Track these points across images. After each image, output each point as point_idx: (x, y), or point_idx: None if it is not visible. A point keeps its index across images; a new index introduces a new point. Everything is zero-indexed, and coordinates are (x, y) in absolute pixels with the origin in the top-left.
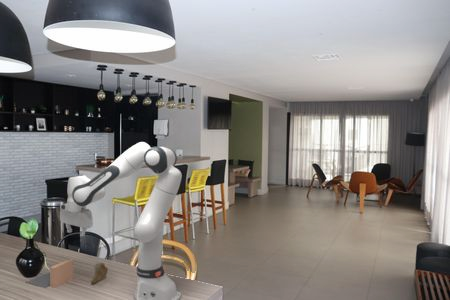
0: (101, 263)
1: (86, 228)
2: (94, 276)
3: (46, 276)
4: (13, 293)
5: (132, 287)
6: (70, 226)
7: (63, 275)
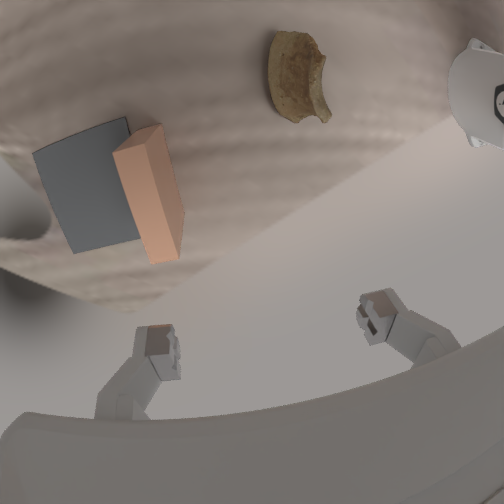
0: (320, 71)
1: (450, 337)
2: (306, 114)
3: (66, 188)
4: (133, 300)
5: (422, 67)
6: (133, 377)
7: (170, 187)
